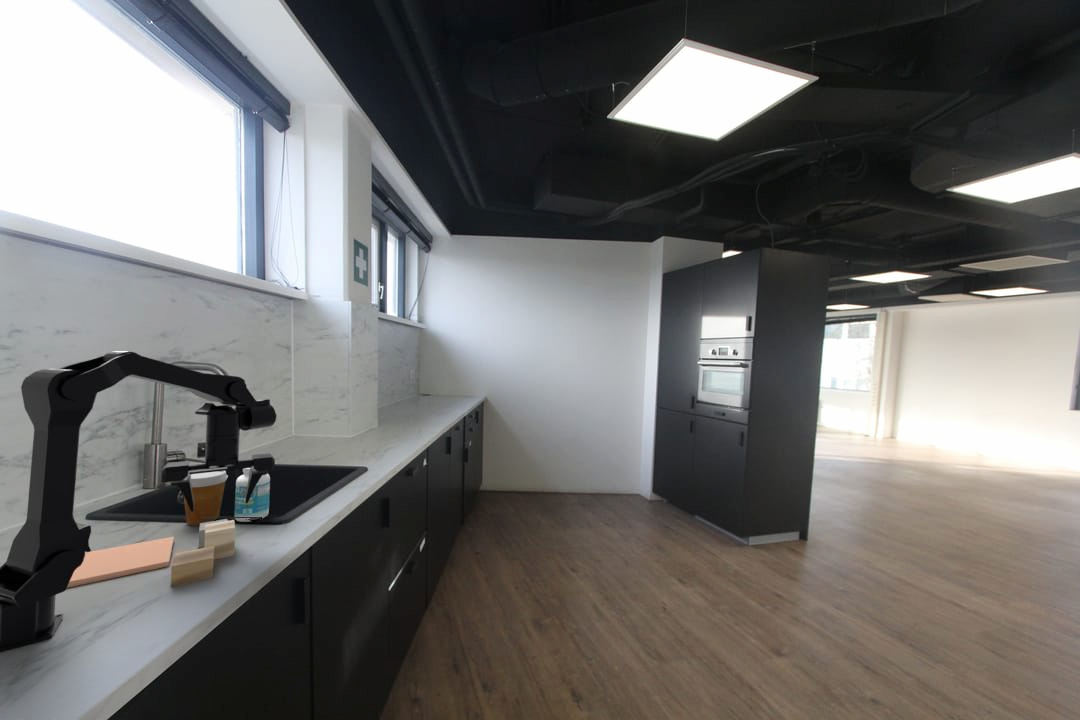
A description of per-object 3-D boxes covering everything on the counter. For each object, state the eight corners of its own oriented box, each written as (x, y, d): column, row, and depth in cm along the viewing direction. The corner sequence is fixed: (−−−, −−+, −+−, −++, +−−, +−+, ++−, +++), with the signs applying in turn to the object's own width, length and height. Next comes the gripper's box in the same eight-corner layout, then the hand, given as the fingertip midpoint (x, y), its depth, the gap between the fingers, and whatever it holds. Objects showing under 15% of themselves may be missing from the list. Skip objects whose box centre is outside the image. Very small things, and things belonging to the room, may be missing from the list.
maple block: (234, 555, 88) (235, 527, 88) (203, 562, 85) (204, 532, 85) (233, 546, 92) (234, 519, 92) (204, 552, 88) (205, 524, 88)
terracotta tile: (168, 566, 82) (168, 561, 82) (63, 588, 74) (63, 582, 74) (173, 541, 93) (173, 536, 93) (82, 557, 84) (83, 552, 84)
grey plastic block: (226, 543, 93) (227, 525, 93) (198, 549, 90) (199, 530, 90) (226, 535, 97) (227, 518, 97) (199, 540, 94) (200, 523, 94)
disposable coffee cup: (168, 529, 99) (170, 479, 99) (193, 514, 109) (195, 469, 109) (213, 527, 101) (215, 478, 101) (234, 513, 111) (235, 468, 111)
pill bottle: (226, 520, 105) (228, 468, 105) (253, 511, 113) (255, 461, 113) (250, 524, 104) (252, 471, 104) (275, 514, 111) (277, 464, 111)
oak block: (212, 578, 79) (213, 557, 79) (170, 588, 75) (171, 566, 75) (213, 565, 84) (214, 545, 84) (174, 574, 80) (175, 553, 80)
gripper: (270, 425, 100) (268, 489, 100) (167, 431, 89) (165, 504, 89) (276, 432, 92) (273, 502, 91) (163, 440, 80) (159, 520, 80)
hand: (220, 506), depth 88 cm, fingers open, 9 cm apart
